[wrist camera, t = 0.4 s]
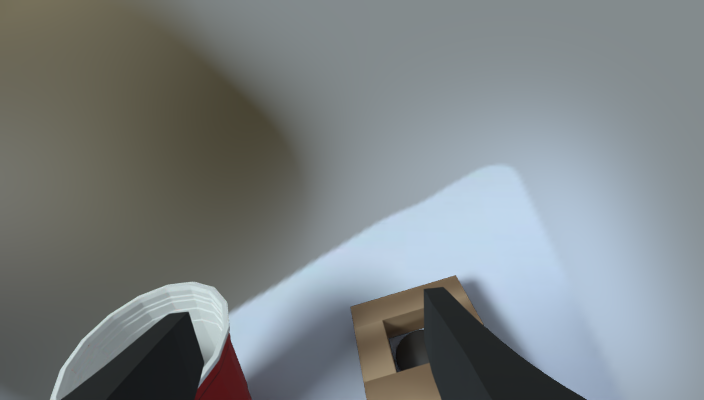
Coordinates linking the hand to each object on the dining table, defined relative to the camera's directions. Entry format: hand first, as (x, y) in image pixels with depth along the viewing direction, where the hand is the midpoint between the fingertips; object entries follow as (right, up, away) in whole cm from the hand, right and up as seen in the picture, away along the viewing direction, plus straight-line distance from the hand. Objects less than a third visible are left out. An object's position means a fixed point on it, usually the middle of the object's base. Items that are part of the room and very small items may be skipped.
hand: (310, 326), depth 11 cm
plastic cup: (-9, -15, +18) cm, 25 cm away
